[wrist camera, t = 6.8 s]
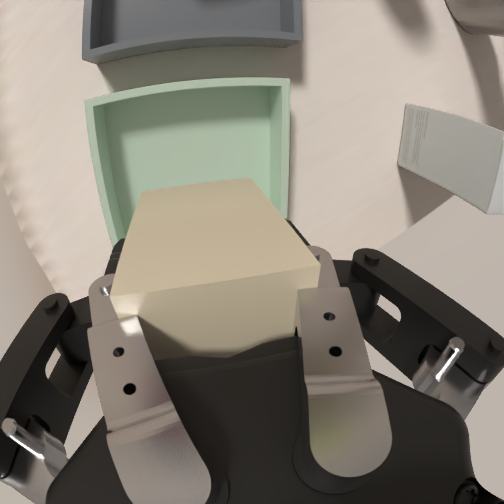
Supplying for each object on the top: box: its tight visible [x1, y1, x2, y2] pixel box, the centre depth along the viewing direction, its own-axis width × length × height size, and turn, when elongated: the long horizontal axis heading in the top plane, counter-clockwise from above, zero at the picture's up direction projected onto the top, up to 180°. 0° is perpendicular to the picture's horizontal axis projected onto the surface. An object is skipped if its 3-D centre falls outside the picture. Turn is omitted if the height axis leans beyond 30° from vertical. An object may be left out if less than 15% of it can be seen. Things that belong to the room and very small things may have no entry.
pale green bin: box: [84, 77, 290, 247], centre depth 20 cm, size 14×14×4 cm
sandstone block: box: [109, 178, 321, 360], centre depth 9 cm, size 4×4×6 cm
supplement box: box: [398, 103, 504, 214], centre depth 20 cm, size 7×7×13 cm
